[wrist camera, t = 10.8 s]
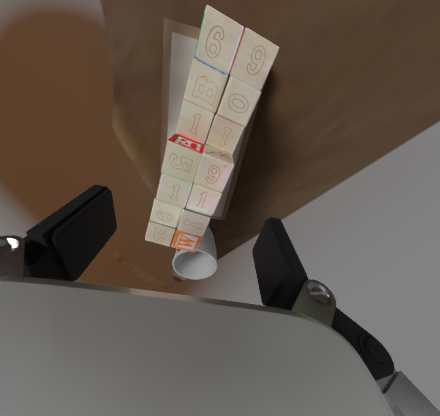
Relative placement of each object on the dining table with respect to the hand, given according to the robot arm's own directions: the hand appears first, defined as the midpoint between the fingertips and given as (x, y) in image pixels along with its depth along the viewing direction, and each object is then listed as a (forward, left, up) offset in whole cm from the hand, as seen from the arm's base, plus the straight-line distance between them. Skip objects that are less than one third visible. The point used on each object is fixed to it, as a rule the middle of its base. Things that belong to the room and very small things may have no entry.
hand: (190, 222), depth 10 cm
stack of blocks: (0, -1, -19) cm, 19 cm away
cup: (-2, +19, -22) cm, 29 cm away
